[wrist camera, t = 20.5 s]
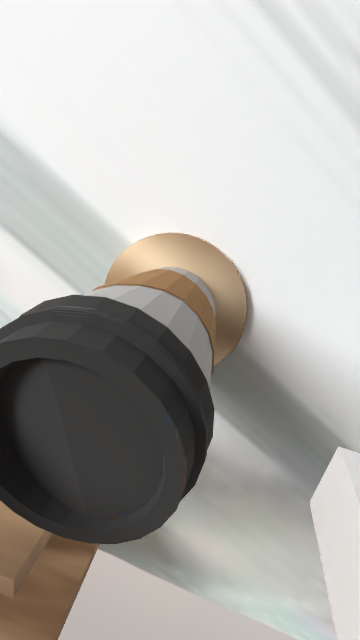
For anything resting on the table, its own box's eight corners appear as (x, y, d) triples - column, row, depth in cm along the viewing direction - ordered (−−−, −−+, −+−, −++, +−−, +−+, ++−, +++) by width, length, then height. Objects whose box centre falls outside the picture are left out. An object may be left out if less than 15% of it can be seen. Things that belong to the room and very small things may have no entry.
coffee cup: (130, 359, 25) (-13, 541, 11) (111, 256, 22) (-103, 323, 9) (233, 357, 23) (218, 572, 9) (225, 245, 21) (189, 307, 7)
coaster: (115, 217, 22) (111, 218, 22) (265, 251, 21) (266, 253, 20) (99, 351, 26) (96, 354, 25) (225, 386, 25) (225, 390, 24)
